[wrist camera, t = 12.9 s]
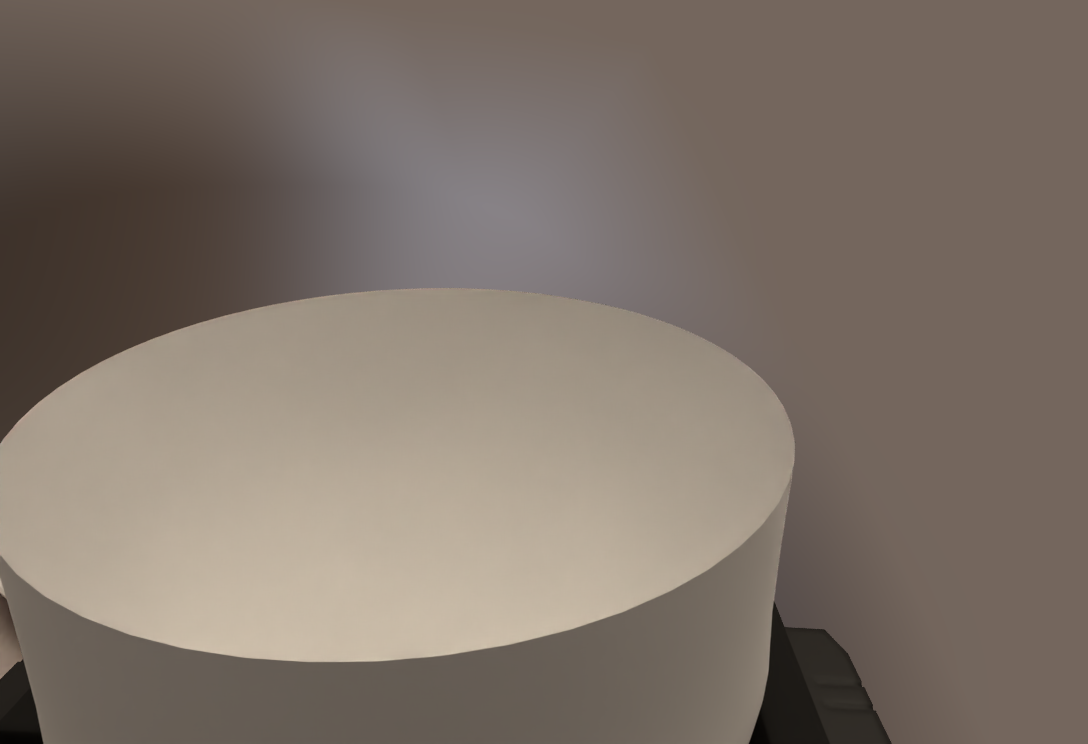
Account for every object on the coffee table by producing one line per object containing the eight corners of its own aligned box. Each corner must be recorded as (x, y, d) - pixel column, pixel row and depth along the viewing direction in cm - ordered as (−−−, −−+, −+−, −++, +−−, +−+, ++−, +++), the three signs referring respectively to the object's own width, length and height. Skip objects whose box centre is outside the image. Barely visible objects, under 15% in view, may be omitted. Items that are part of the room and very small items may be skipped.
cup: (738, 847, 15) (853, 344, 10) (546, 1606, 7) (638, 1050, 2) (417, 680, 18) (389, 263, 14) (80, 1061, 11) (-230, 442, 6)
